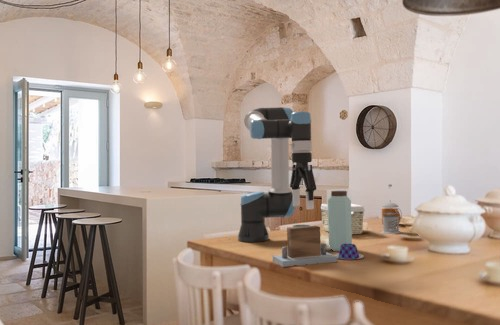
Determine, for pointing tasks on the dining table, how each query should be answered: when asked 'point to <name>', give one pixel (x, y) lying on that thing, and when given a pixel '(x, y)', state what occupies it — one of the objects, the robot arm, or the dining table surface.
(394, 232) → the french press
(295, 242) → the wooden block
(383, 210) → the glass coffee carafe
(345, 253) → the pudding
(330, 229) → the water bottle
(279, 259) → the light blue peg stand
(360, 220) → the storage basket
